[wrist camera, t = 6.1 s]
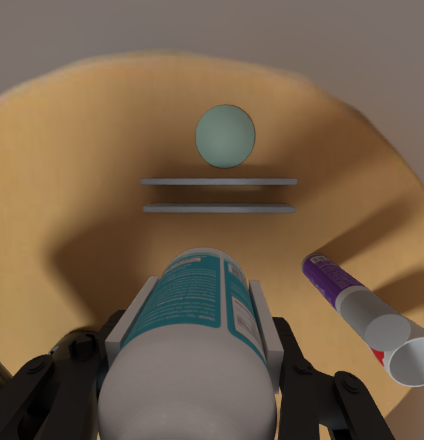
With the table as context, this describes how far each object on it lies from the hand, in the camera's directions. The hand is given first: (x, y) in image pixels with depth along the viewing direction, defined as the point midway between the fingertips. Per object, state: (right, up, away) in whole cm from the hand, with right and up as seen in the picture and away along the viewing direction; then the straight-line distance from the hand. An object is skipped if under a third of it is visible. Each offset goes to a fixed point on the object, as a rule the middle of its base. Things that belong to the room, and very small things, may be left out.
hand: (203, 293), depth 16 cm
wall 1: (+2, +12, +15) cm, 20 cm away
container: (+19, -2, +18) cm, 26 cm away
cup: (+29, -11, +20) cm, 36 cm away
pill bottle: (0, 0, +2) cm, 2 cm away
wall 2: (+2, +9, +16) cm, 18 cm away
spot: (+3, +19, +14) cm, 23 cm away
